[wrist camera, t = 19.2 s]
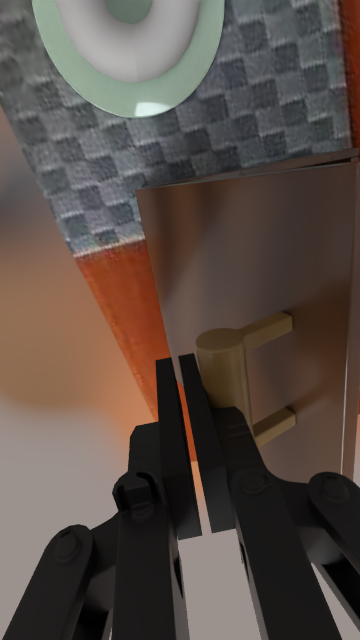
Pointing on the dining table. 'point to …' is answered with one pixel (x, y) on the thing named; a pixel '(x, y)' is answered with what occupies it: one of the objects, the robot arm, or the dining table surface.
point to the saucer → (125, 97)
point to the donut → (130, 37)
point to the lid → (267, 304)
